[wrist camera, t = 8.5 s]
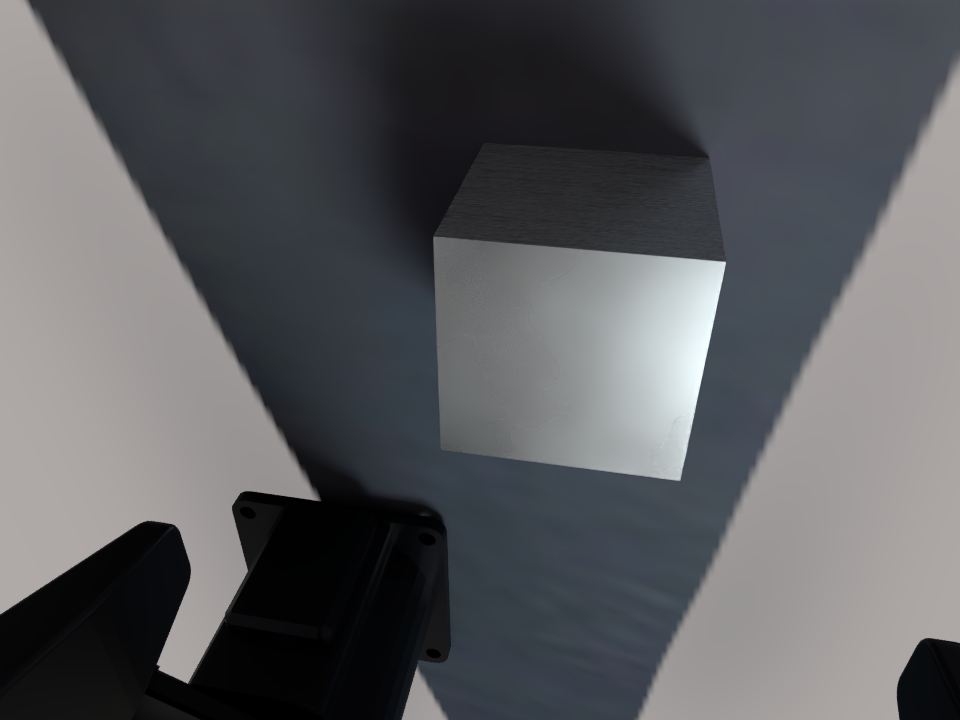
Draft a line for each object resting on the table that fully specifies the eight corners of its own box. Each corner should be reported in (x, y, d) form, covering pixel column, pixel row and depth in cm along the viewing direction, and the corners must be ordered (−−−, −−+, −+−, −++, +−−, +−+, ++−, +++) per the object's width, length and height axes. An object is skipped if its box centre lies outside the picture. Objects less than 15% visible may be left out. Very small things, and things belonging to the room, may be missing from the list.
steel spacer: (674, 345, 18) (680, 480, 14) (483, 326, 18) (441, 449, 15) (709, 156, 15) (726, 262, 11) (484, 141, 16) (433, 236, 12)
